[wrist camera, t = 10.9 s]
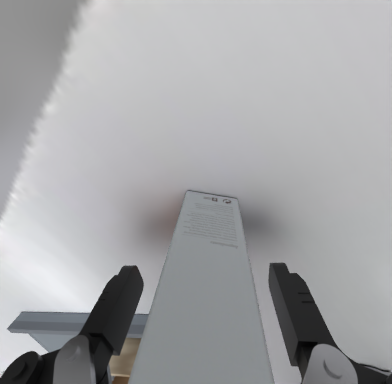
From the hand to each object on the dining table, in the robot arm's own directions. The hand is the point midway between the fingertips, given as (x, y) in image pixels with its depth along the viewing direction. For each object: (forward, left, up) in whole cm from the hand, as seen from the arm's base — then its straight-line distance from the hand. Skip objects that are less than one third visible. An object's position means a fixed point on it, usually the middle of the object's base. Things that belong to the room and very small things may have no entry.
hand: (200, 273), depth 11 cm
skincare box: (0, 0, -6) cm, 6 cm away
